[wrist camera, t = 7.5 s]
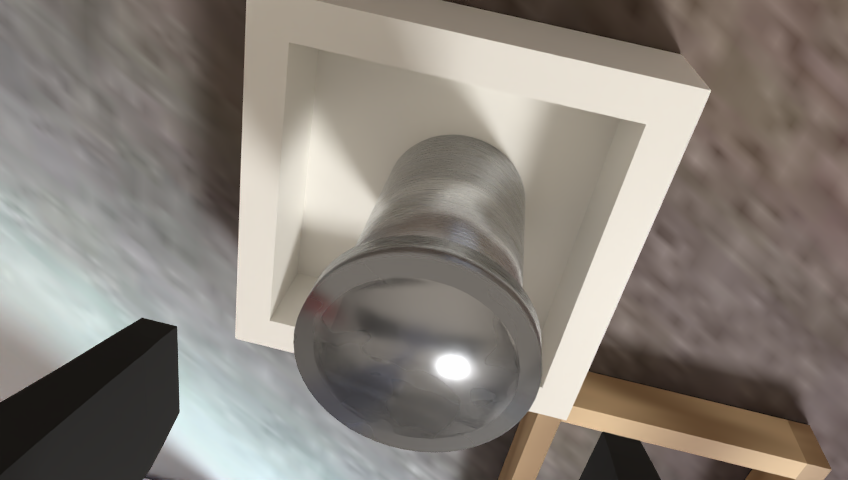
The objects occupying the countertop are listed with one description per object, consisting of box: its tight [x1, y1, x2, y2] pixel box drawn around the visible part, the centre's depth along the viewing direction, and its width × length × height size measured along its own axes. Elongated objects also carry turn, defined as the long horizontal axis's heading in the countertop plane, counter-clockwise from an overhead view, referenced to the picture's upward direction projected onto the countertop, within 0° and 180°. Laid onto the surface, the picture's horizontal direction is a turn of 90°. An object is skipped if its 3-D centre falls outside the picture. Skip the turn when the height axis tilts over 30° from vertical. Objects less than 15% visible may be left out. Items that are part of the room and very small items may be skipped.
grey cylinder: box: [293, 135, 542, 452], centre depth 15 cm, size 5×5×7 cm
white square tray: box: [235, 0, 711, 420], centre depth 17 cm, size 10×10×3 cm
